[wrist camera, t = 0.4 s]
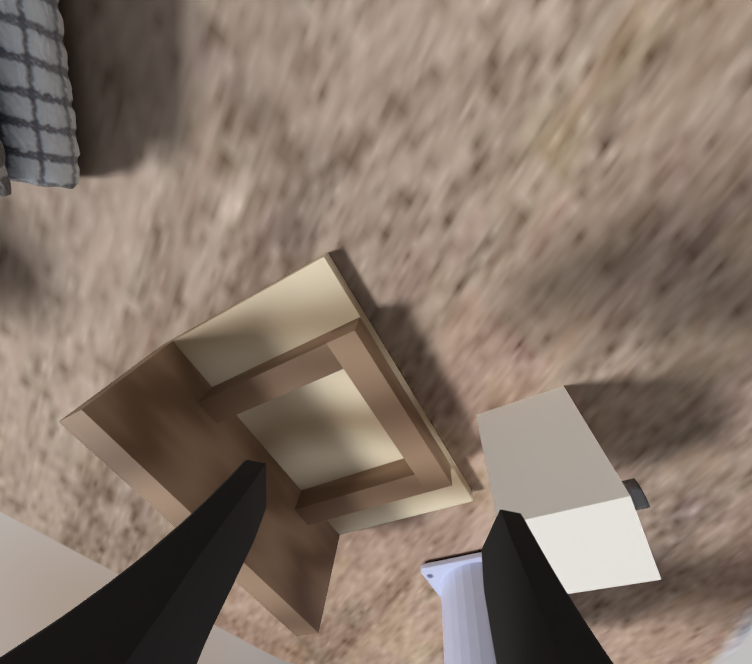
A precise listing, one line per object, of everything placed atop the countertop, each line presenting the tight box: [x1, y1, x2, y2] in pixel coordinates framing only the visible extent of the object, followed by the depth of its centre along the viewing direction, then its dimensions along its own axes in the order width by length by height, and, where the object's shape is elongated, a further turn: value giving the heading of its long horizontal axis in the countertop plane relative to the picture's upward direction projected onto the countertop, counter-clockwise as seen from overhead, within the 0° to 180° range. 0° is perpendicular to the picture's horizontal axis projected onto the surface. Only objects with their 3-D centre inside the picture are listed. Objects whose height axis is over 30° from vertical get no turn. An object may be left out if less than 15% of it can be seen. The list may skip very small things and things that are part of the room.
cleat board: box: [59, 253, 473, 636], centre depth 19 cm, size 18×12×7 cm, turn 29°
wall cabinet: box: [476, 386, 661, 594], centre depth 18 cm, size 6×6×7 cm
